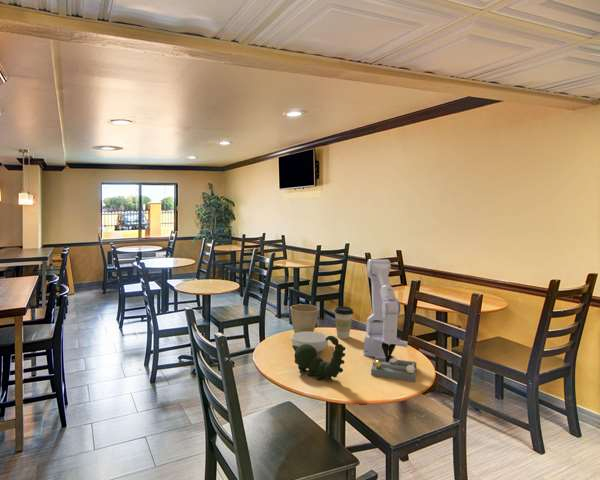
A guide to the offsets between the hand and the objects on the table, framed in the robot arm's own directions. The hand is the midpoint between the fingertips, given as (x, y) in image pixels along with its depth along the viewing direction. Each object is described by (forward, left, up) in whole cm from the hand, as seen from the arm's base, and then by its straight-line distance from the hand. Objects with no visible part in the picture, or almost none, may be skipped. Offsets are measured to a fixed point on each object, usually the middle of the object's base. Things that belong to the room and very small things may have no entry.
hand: (388, 361), depth 164 cm
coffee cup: (-27, +36, -4) cm, 45 cm away
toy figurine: (-27, -16, -4) cm, 31 cm away
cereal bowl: (-37, +9, -4) cm, 38 cm away
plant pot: (-45, +25, -4) cm, 51 cm away
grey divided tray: (+3, 0, -4) cm, 5 cm away
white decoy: (+9, -5, 0) cm, 10 cm away
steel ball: (+1, 0, +1) cm, 2 cm away
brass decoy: (-3, -5, 0) cm, 6 cm away
